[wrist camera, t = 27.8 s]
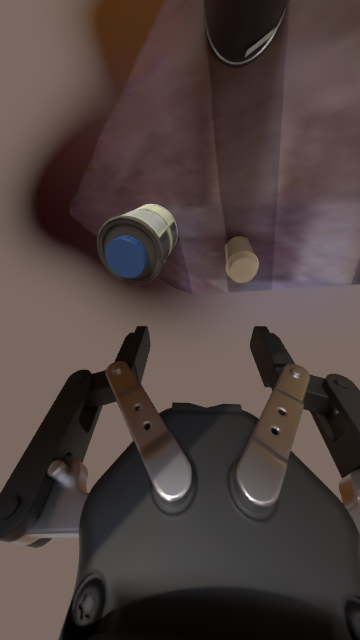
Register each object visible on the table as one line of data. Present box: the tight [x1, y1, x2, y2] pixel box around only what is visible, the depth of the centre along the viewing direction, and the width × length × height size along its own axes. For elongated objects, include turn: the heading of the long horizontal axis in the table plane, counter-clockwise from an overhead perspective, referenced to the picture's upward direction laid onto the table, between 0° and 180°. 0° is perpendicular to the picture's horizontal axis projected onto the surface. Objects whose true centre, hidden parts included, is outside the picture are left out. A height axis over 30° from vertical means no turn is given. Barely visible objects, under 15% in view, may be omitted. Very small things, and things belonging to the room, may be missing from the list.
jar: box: [224, 236, 259, 283], centre depth 34 cm, size 5×5×11 cm
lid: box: [105, 235, 148, 278], centre depth 27 cm, size 6×6×2 cm
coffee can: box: [97, 204, 178, 285], centre depth 33 cm, size 10×10×14 cm
